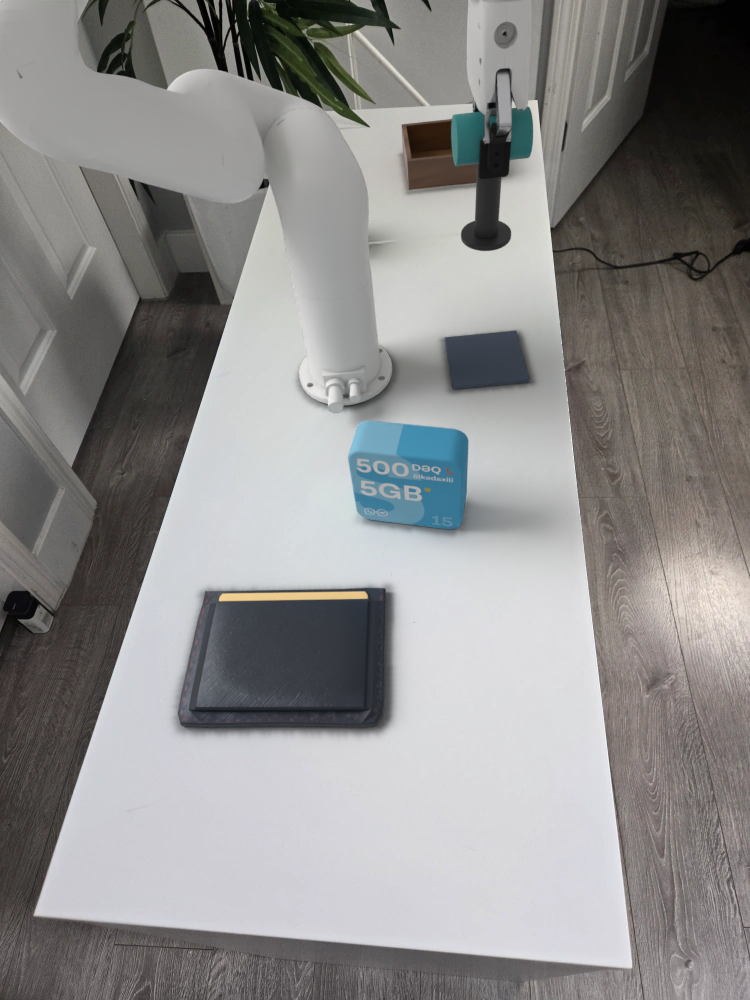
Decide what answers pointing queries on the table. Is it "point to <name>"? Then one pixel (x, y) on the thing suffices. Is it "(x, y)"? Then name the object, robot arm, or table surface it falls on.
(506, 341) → the mat
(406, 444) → the data package
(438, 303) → the table surface
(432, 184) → the open wooden box
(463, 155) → the mallet
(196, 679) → the wallet
